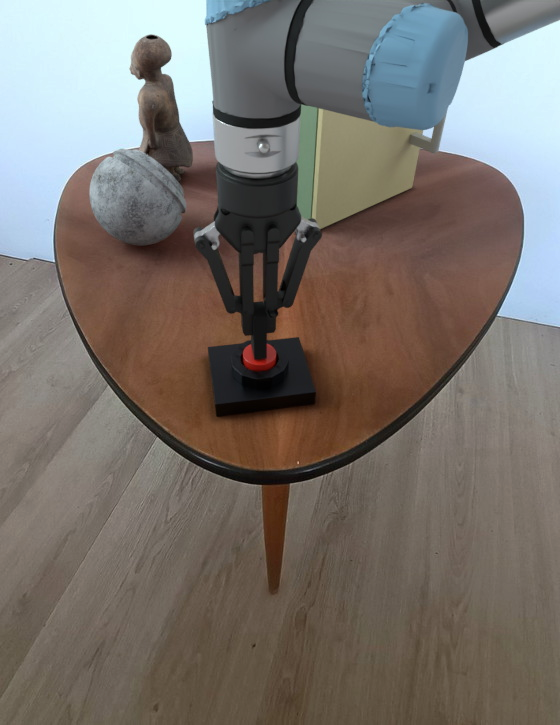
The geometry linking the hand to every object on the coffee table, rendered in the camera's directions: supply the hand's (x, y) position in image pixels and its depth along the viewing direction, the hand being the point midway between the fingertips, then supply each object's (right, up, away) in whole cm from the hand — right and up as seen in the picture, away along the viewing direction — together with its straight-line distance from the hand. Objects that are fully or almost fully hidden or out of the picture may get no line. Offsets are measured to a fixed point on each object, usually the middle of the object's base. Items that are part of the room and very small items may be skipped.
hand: (258, 351), depth 66 cm
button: (0, -1, +1) cm, 2 cm away
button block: (0, -4, +3) cm, 5 cm away
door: (+20, +26, +34) cm, 47 cm away
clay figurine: (-19, +35, +43) cm, 59 cm away
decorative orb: (-20, +19, +27) cm, 39 cm away
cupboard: (+12, +32, +41) cm, 54 cm away
